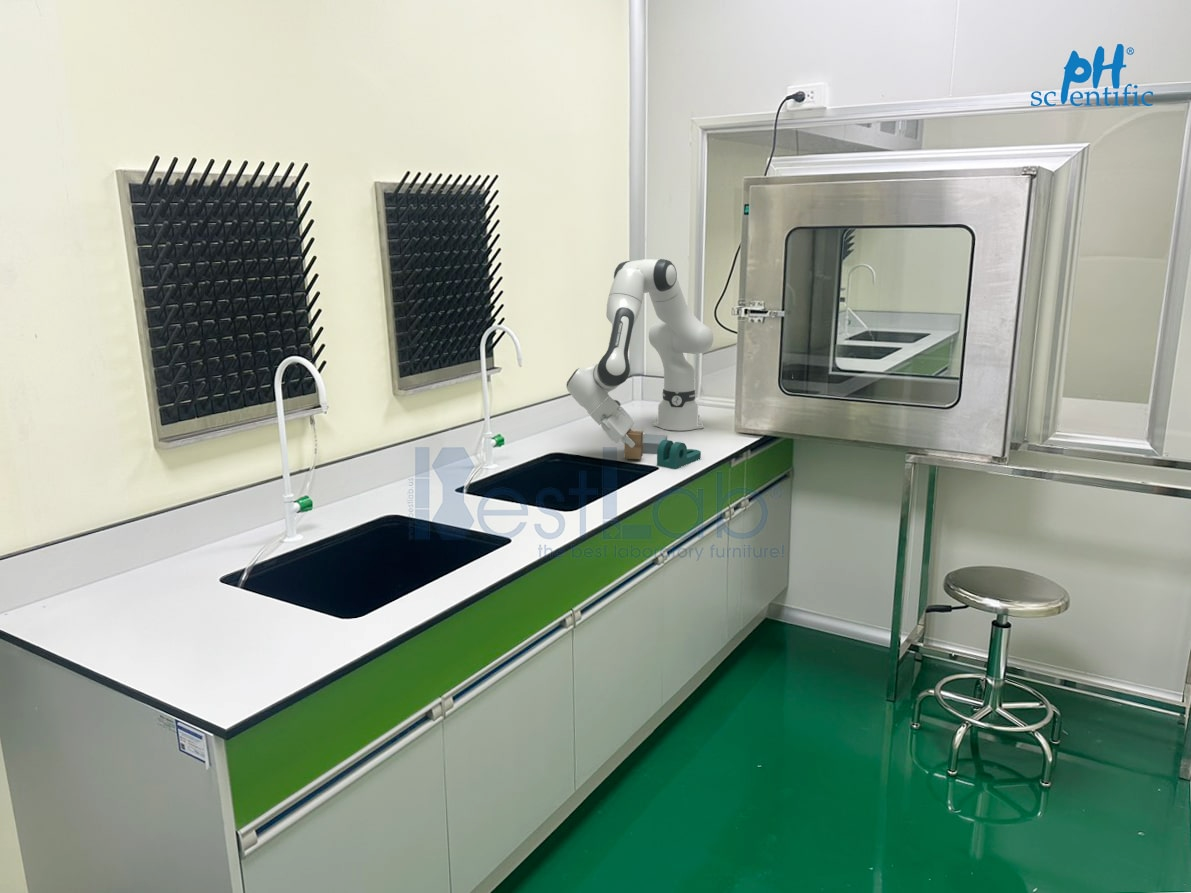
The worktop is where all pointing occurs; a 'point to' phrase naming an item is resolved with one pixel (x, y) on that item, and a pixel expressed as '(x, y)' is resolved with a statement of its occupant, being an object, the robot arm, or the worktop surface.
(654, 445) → the slate base
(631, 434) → the walnut block
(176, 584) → the worktop surface
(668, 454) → the bracket
